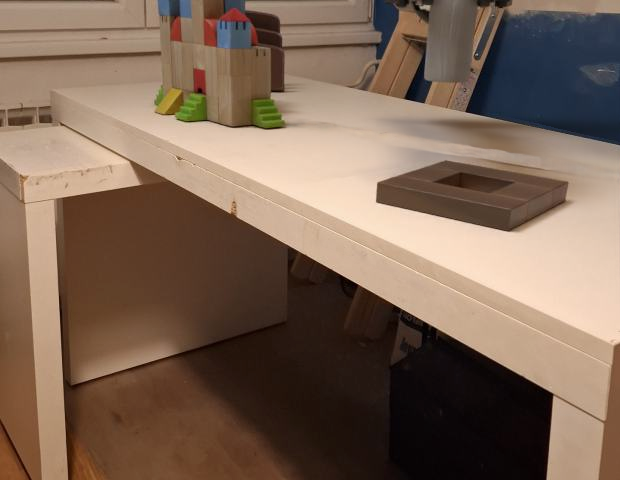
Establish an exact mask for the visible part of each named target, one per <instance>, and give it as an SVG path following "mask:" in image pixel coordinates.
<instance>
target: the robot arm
mask: <svg viewBox="0 0 620 480" xmlns="http://www.w3.org/2000/svg"><path fill="white" fill-rule="evenodd" d="M382 2H383V3H386V4H393V5H394V7H395V8H396V9H397V10H398V11H401V12H406V13H413V14H415V15H416V16H417V17H418V18H420V19H421V20H422V21H423V22H424V23H426V24H427V25H428V24H429V12H430V5H431V6H432V5H433V0H382ZM491 3H494V7H495V8H497V9H504V8H508V7H511V6H512V5H513V0H478V7H477V12H479V11H480V10H481V9H487V8H491V7H490V6H491Z"/></svg>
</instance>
